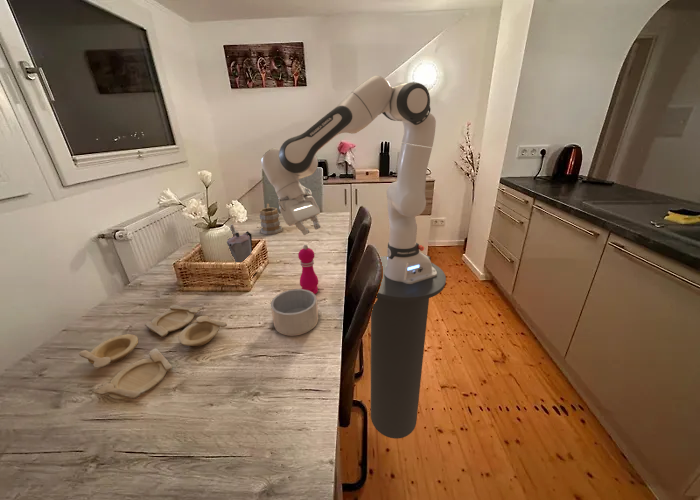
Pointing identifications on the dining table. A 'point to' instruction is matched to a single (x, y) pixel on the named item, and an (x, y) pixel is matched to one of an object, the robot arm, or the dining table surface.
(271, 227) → the tankard
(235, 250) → the moka pot
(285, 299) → the round grey bowl
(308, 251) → the pepper mill
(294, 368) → the dining table surface
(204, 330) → the tableware set
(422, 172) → the robot arm
